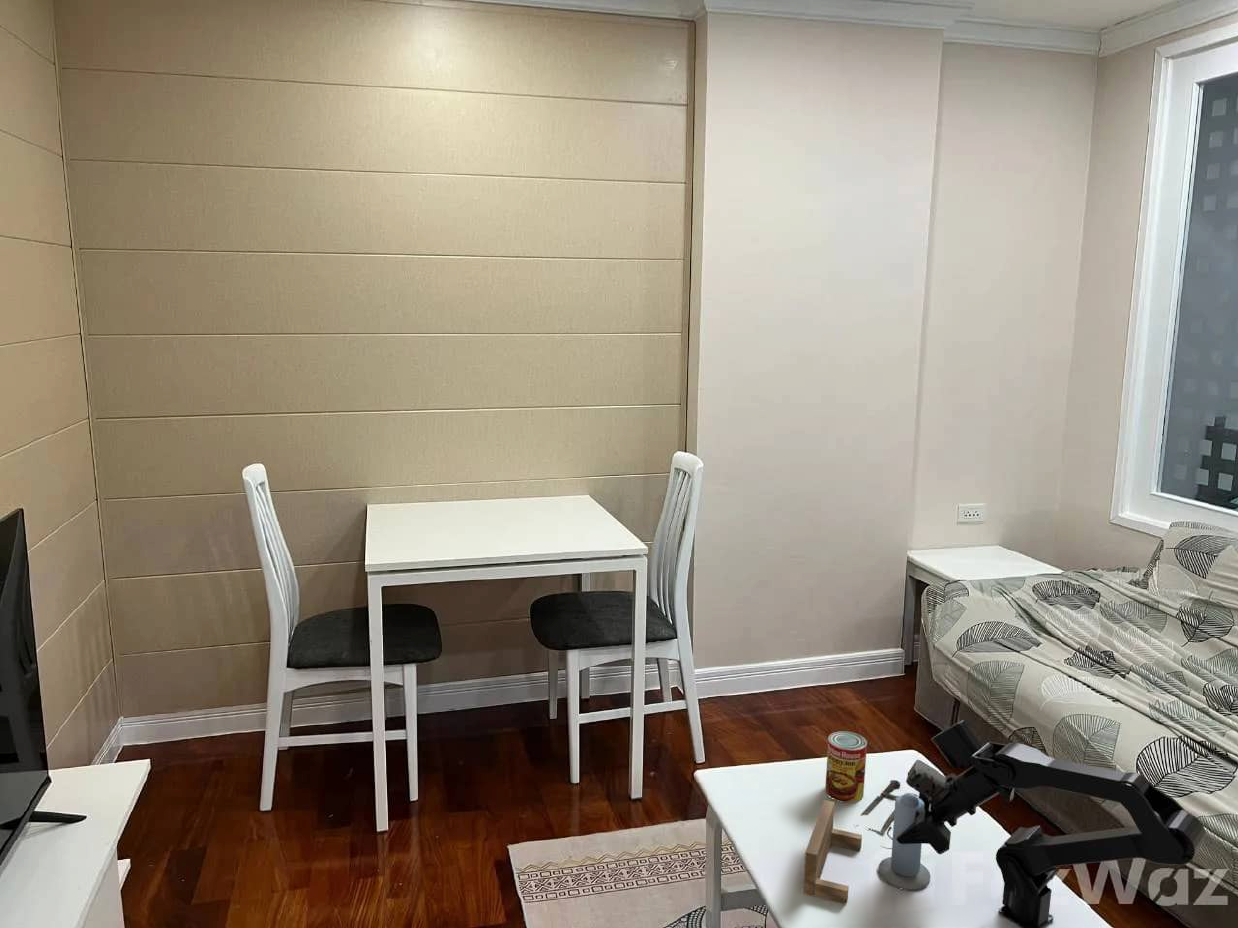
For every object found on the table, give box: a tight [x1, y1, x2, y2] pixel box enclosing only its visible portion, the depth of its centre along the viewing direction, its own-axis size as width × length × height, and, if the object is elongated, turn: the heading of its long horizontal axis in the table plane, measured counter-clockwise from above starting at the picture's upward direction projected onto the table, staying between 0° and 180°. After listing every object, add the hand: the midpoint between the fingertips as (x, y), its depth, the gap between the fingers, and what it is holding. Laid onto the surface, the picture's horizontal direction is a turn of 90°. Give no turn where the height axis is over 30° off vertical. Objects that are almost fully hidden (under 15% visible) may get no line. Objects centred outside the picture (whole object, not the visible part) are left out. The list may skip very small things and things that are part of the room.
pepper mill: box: [890, 792, 924, 876], centre depth 167 cm, size 5×5×15 cm
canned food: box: [824, 730, 868, 803], centre depth 195 cm, size 8×8×12 cm
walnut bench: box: [802, 799, 863, 905], centre depth 170 cm, size 8×18×8 cm, turn 158°
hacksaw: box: [853, 779, 919, 850], centre depth 188 cm, size 24×10×2 cm, turn 141°
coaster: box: [877, 856, 931, 891], centre depth 169 cm, size 9×9×1 cm
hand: (899, 832), depth 168 cm, fingers open, 5 cm apart
